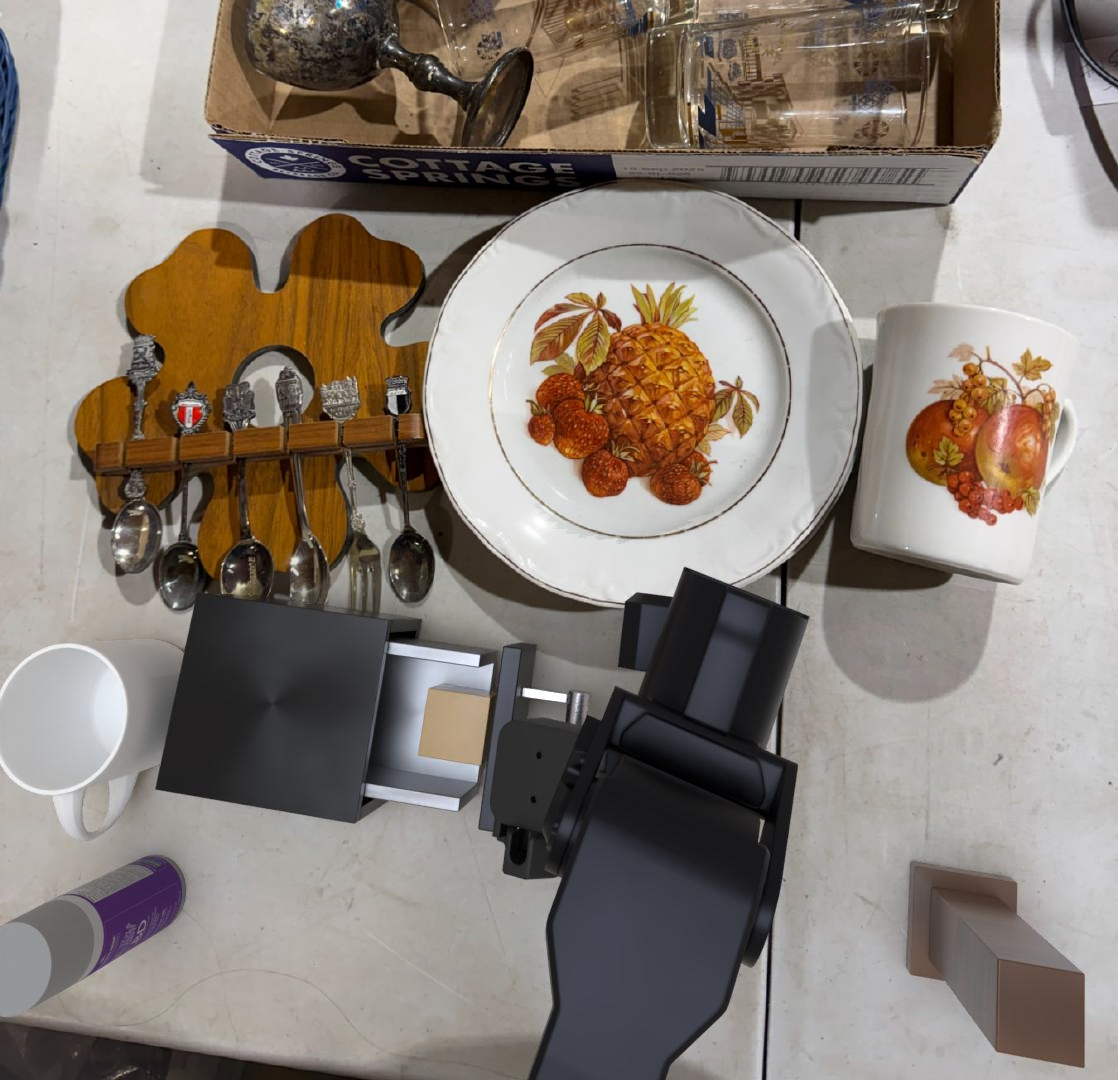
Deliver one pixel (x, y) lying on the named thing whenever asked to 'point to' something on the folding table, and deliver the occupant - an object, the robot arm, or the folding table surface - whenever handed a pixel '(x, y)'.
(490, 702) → the block
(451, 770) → the drawer with silver handle
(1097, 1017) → the folding table surface
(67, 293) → the folding table surface
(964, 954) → the stand
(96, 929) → the container
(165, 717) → the mug
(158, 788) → the black drawer box
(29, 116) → the folding table surface
